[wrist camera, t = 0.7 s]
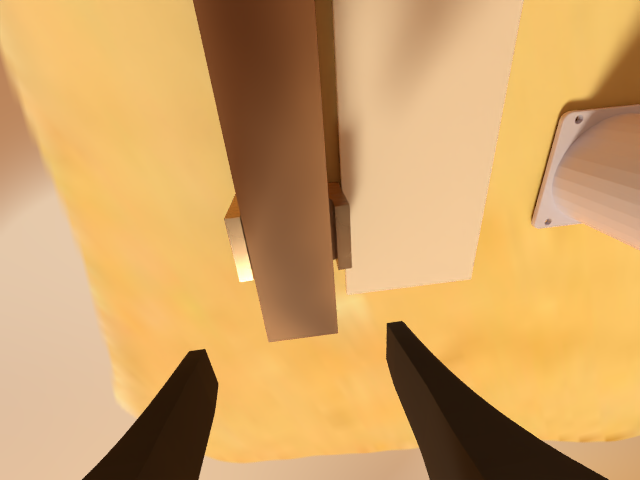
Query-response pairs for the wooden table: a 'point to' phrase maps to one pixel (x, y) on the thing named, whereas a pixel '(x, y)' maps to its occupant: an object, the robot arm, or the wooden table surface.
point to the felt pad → (418, 132)
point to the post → (338, 225)
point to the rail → (276, 153)
